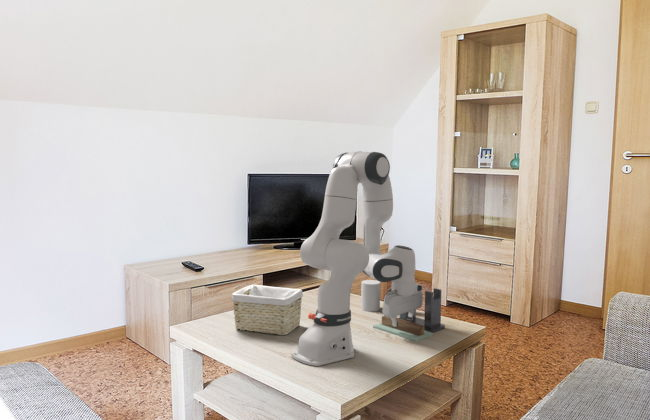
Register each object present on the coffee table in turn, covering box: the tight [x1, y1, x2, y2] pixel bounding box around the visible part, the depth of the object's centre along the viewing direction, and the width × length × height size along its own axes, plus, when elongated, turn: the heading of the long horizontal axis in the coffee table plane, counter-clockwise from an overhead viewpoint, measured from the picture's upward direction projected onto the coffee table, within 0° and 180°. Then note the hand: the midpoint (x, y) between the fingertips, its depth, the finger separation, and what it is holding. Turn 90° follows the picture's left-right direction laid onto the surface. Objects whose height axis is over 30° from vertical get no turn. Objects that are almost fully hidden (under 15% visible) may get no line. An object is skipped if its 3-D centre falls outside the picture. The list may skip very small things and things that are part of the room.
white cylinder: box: [360, 279, 381, 313], centre depth 233 cm, size 8×8×12 cm
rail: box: [381, 315, 425, 336], centre depth 204 cm, size 3×18×3 cm, turn 44°
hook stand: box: [398, 287, 446, 334], centre depth 211 cm, size 8×18×15 cm, turn 43°
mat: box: [372, 322, 434, 342], centre depth 204 cm, size 10×21×1 cm, turn 43°
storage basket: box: [231, 284, 304, 336], centre depth 208 cm, size 24×16×15 cm
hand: (402, 323), depth 204 cm, fingers open, 7 cm apart
